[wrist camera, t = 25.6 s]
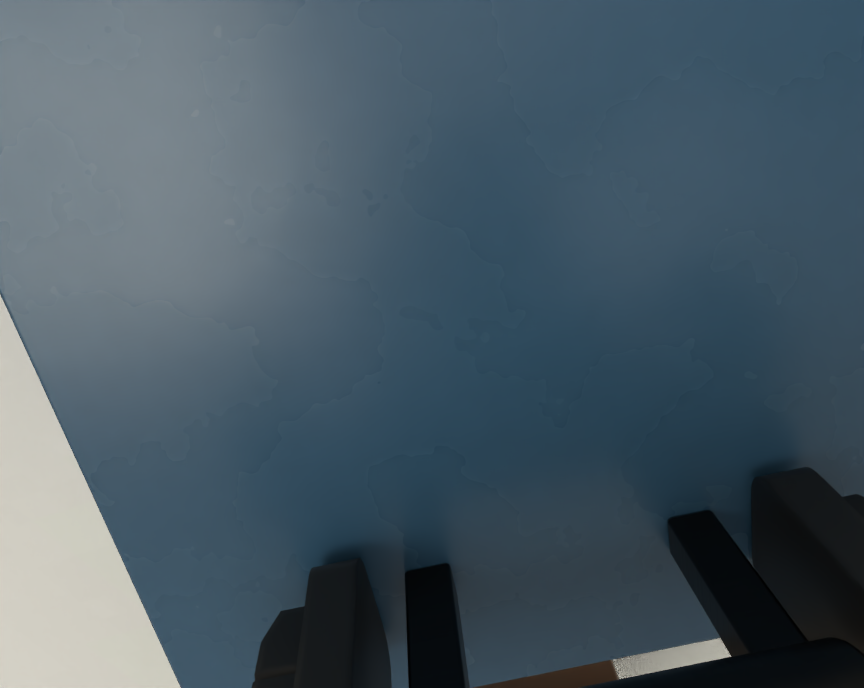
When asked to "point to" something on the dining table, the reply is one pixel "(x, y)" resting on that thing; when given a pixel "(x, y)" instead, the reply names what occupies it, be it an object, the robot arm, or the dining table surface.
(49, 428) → the dining table surface
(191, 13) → the toolbox lid
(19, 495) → the dining table surface
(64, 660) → the dining table surface
